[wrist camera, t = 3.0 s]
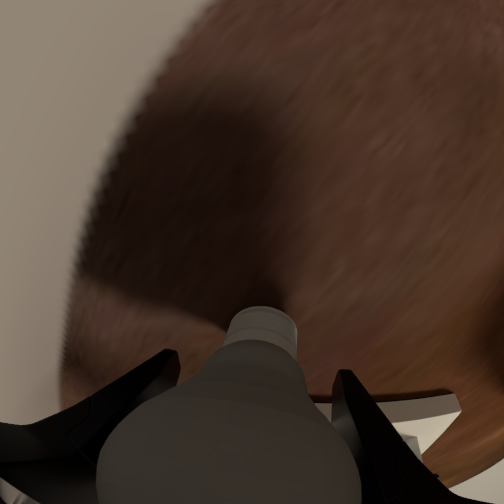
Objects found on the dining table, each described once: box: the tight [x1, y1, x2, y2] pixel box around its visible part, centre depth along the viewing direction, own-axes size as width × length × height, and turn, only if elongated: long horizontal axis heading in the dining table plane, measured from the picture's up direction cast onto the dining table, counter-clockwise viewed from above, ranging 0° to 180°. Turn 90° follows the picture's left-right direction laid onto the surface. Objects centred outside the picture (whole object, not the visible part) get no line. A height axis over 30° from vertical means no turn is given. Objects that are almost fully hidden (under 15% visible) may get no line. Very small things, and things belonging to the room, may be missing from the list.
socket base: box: [314, 393, 462, 463], centre depth 13 cm, size 14×14×4 cm
